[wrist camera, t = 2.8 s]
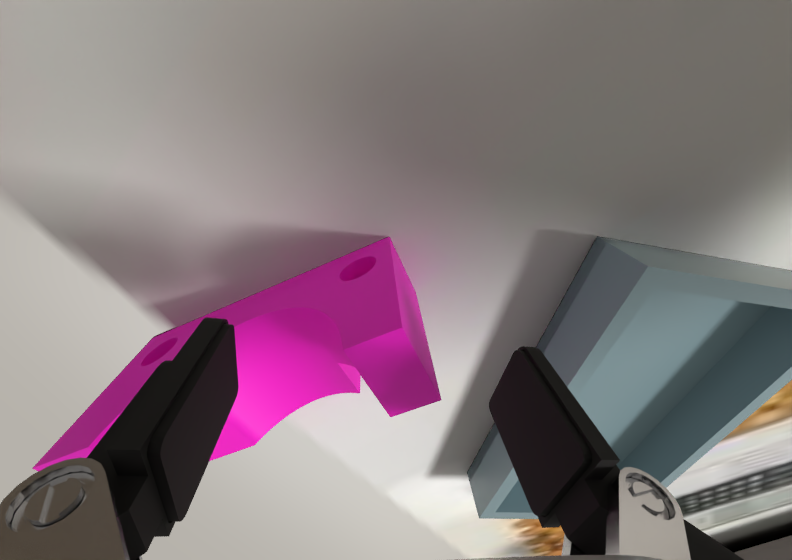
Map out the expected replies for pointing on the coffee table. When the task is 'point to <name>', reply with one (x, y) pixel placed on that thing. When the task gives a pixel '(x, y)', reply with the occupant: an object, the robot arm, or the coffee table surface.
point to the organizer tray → (769, 550)
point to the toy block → (295, 351)
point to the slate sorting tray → (656, 359)
